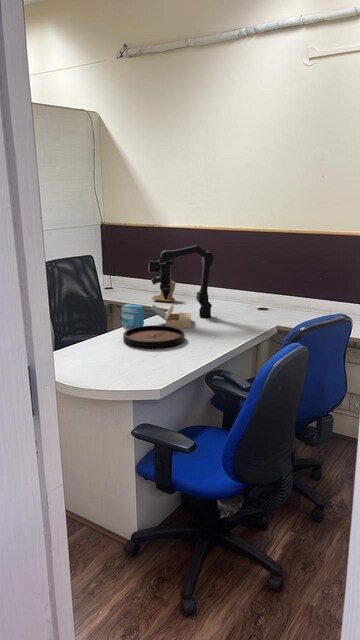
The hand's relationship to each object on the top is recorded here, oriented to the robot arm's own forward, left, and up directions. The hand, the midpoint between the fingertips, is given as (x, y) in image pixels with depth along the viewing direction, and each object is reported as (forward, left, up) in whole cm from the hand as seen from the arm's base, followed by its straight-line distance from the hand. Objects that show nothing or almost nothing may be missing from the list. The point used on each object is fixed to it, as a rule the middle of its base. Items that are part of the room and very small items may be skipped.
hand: (165, 298), depth 293 cm
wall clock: (+4, +46, -13) cm, 48 cm away
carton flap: (-3, +13, -6) cm, 14 cm away
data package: (+18, +19, -13) cm, 29 cm away
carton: (-8, +13, -12) cm, 20 cm away
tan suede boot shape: (+3, -51, -13) cm, 53 cm away
